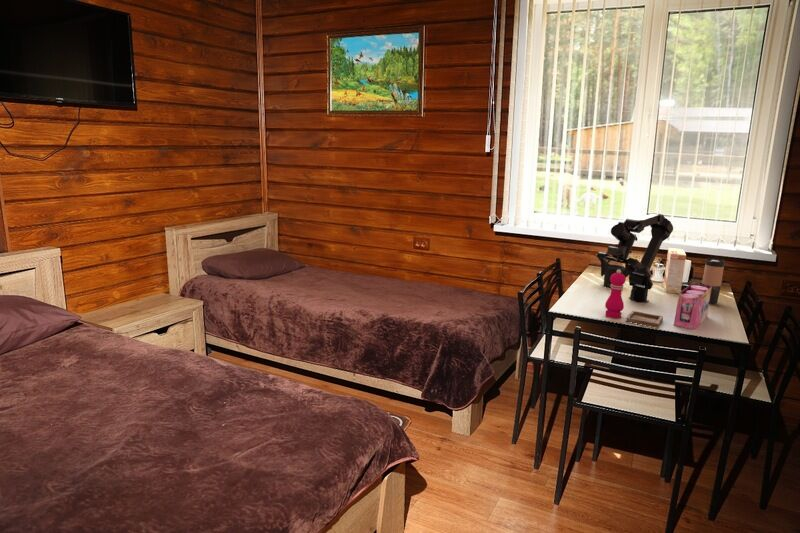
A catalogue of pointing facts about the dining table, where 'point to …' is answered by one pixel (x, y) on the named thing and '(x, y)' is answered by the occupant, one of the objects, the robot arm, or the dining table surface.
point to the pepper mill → (615, 296)
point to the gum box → (692, 305)
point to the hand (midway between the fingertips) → (611, 278)
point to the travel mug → (713, 277)
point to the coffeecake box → (674, 270)
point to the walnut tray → (644, 319)
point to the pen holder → (610, 271)
